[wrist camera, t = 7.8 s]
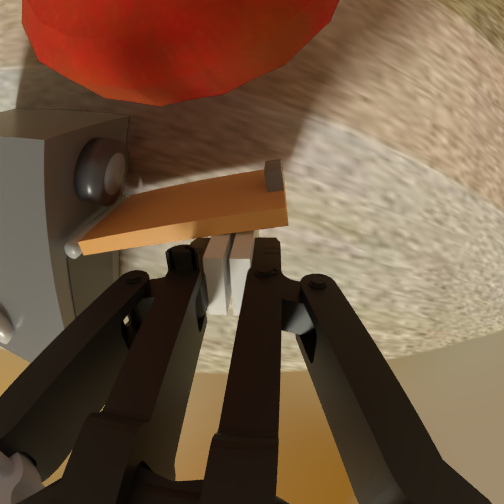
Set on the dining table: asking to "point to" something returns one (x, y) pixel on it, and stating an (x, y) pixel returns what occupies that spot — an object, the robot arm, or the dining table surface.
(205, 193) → the side door
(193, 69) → the apple
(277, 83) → the dining table surface
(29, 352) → the grey box
